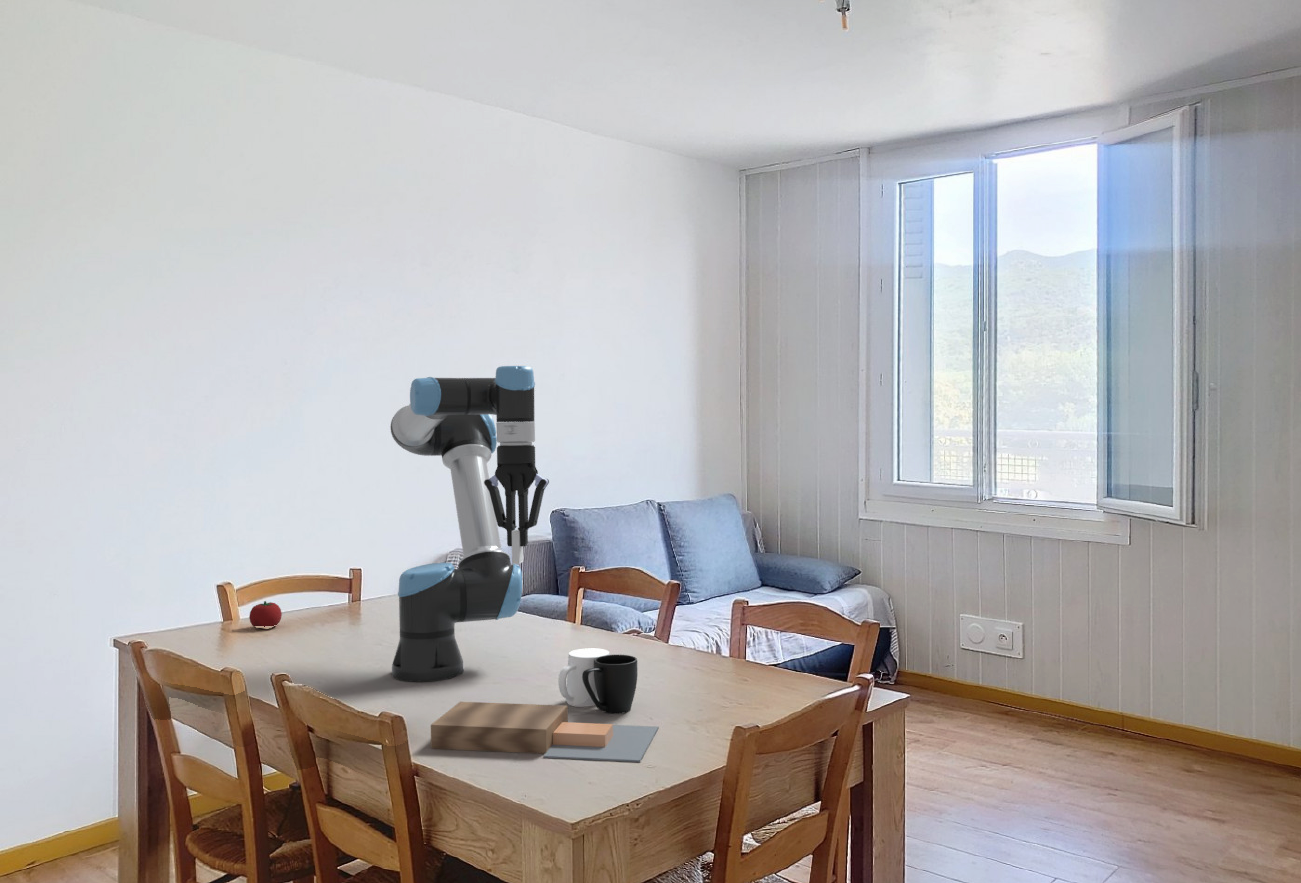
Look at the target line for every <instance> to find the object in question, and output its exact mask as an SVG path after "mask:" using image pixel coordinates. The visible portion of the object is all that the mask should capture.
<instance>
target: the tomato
mask: <svg viewBox="0 0 1301 883" xmlns="http://www.w3.org/2000/svg"><path fill="white" fill-rule="evenodd" d="M282 616H283V614H282V609H281V607H280V606H279V605H278V604H276V603H275V602H267V601H266V600H265V601H263V603H258V604H255V605H254V606H253V607H252V608H251V610H250V612H249V617H248V618H249V622H250V624H251V625H252V627H254V626H264V627H265V626H274V625H277V624H278V623H279V624H280V621H281V620H282ZM279 624H278V625H279ZM278 625H277V626H278Z"/></svg>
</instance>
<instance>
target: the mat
mask: <svg viewBox="0 0 1301 883" xmlns="http://www.w3.org/2000/svg"><path fill="white" fill-rule="evenodd" d="M659 729H660V728H659V726H655V725H654V726H651V725H632V724H631V725H629V724H613V737H612V738H611V740H610V741H609V742H608V744H607V745H606V747H597V746H575V745H554V744H553V745H552V746H551V747H550V748H549V750H548V751H547V752H546V753H545V754H543V756H542V758H543V759H544V758H545V759H561V760H562V759H563V760H565V759H566V760H584V761H585V760H586V761H587V760H588V761H609V762H628V763H629V762H630V763H631V762H633V763H641V761H642V760H643V757H644V756H645V754H646V752H647V750H648V749H649V746H650V745H651V743H652V741H653V739H654V737H655V736H656V734H657V732H658V730H659Z"/></svg>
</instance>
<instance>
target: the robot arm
mask: <svg viewBox="0 0 1301 883" xmlns="http://www.w3.org/2000/svg"><path fill="white" fill-rule="evenodd" d="M410 384H411V385H410V389H409V402H410V403H409V404H408V405H405V406H403V407H401V408H400V409H399V410H397V412H396V413H395V414H394V415H393V417H392V419H391V422H390V426H389V428H390V434H391V437H392V439H393V440H394V442H396V444H397V445H398V446H399V447H401V448H402V449H403V450H405V451H406V452H408V453H411V454H414V455H418V456H424V457H425V456H428V457H429V456H431V457H433V456H434V457H435V456H440V457H441V459H442V460H441V461H442V463H443V466H445V467H446V468H447V469H449V471H450V475H451V481H452V488H453V496H454V502H455V508H456V516H457V522H458V528H459V535H460V541H461V547H462V548H461V549H462V555H463V557H462V558H461V559H460V560H459V562H458V565H457V567H458V568H455V566H454V564H453V563H451V562H439V563H438V562H433V563H427V564H423V565H419V566H414V567H411V568H407V570H405V571H403V572H402V573H401V574H400V576H399V580H398V592H397V597H398V611H399V613H398V615H399V640H398V641H399V642H398V645H397V647H396V651H395V654H394V658H393V661H392V664H391V677H393V678H394V679H396V680H399V681H404V682H418V683H419V682H434V681H435V682H436V681H442V680H448V679H451V678H455V677H457V676H460V675H462V674H463V672H464V659H463V657H462V655H461V651H460V648H459V645H458V642H457V639H456V636H455V635H456V634H455V624H457V623H467V622H468V623H469V622H480V621H491V620H495V621H497V620H499V619H505V618H506V619H507V618H511V617H513V616H515V615H516V614H517V612H518V611H519V608H520V605H521V601H522V594H523V574H522V573H523V572H522V569H521V567H520V564H522V563H524V547H526V546H528V544H529V540H528V538H529V537H528V536H529V535H528V534H529V532H528V530H529V529H530V528H534V527H535V526H537V524H538V520H539V515H540V510H541V506H542V501H543V497H544V493H545V490H546V488H547V487H548V485H549V484H550V480H549V479H548V478H545V477H543V476H541V475H540V474H539V471H538V469H537V467H536V446H535V445H534V444H533V443H534V442H535V441H536V432H535V431H536V427H535V426H536V424H535V386H536V382H535V376H534V370H533V368H532V367H531V366H528V365H501V366H498V367H497V368H496V370H495V377H432V376H429V377H427V376H426V377H418V378H414V379H413V380H412V382H411V383H410ZM494 415H495V416H496V423H495V421H494V418H493V416H494ZM497 443H499V445H497ZM495 451H496V466H497V467H496V469H495V471H494V475H493V476H491V477H489V470H488V464H487V463H488V462H489V461H491V458H492V454H494V453H495ZM499 483H500V485H501V486H502V488H503V489H504V496H505V509H504V505H503V501H502V497H501V494H500V490H499V487H498V486H499ZM533 483H534V486H535V489H534V493H533V498H532V501H531V506H530V507H531V508H530V511H529V502H528V501H529V488H530V487H531V485H532V484H533ZM516 493H517V494H516ZM516 495H517V498H518V505H517V506H518V525H517V524H516V521H517V520H516ZM499 528H502V529H505V530H506V540H507V541H506V543H507V547H511V557H510V554H508V553H507V552H505V550H502V545H501V539H500V533H499Z"/></svg>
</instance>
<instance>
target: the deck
mask: <svg viewBox="0 0 1301 883" xmlns="http://www.w3.org/2000/svg"><path fill="white" fill-rule="evenodd" d="M568 706H569V705H558V704H531V703H505V702H504V703H502V702H478V701H476V702H475V701H474V702H473V701H459V702H458V703H456V704H455V705H454V706H453V707H452V708H450V709H449V710H447V712H445V713H444V714H442V716H440V717H439V718H438V719H436V720H435V721H433V722H432V723H430V741H431V742H430V746H431V747H430V749H436V750H438V749H439V750H455V751H457V750H461V751H479V752H480V751H481V752H483V751H484V752H502V753H525V754H543V755H544V754H545V753H546V752H547V751H548V750H549V748H550V747H551V746H552V745H553V732H554V731H555V730H556V729H557V728H558V726H559V725H560V724H561V723H562V722H569V718H568V717H569V715H568V714H569V713H568V712H569V711H568V709H569V708H568Z"/></svg>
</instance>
